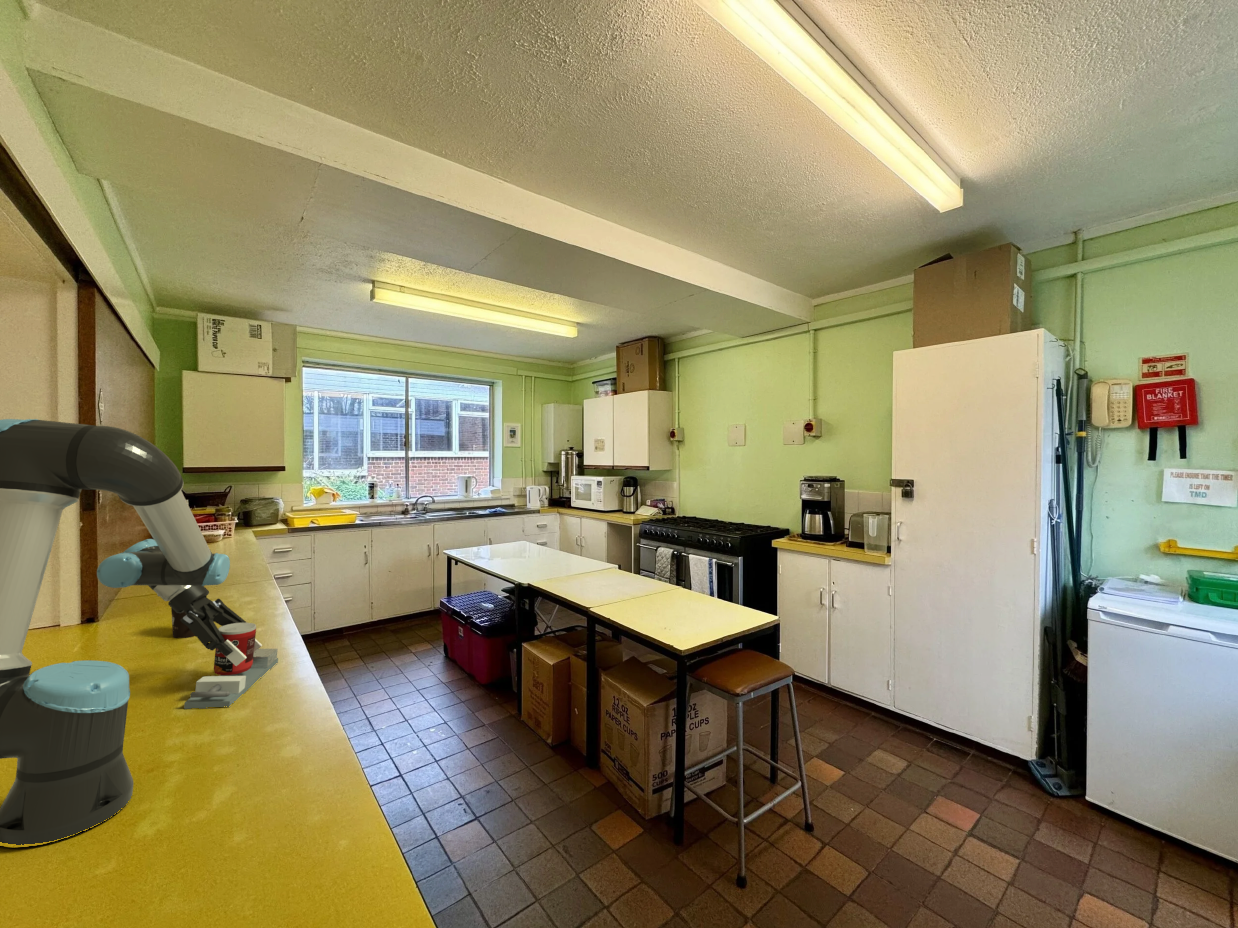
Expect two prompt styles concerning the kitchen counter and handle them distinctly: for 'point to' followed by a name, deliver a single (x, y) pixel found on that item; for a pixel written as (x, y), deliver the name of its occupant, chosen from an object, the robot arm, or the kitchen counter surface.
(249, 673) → the vise base
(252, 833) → the kitchen counter surface
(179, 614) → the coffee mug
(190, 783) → the kitchen counter surface
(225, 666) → the canned food
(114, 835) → the kitchen counter surface
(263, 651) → the block
